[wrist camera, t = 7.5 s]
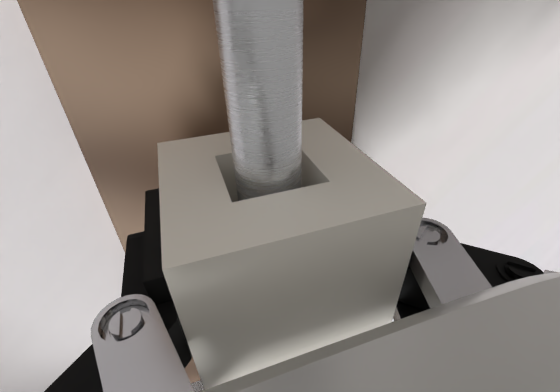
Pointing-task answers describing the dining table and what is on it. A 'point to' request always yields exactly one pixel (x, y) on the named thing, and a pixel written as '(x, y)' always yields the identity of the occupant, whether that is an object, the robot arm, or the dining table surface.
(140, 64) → the base board
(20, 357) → the dining table surface
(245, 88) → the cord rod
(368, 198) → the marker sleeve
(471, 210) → the dining table surface
